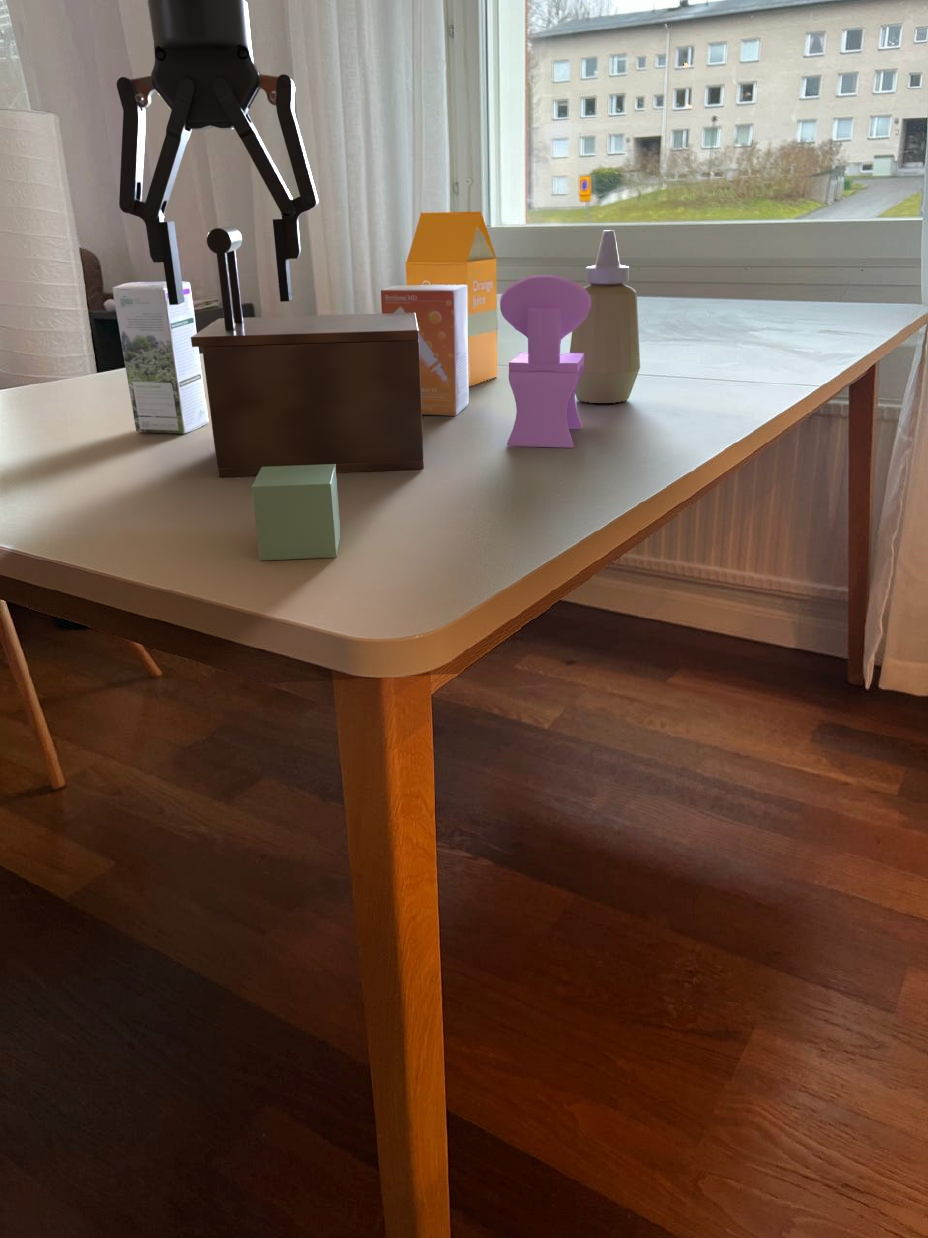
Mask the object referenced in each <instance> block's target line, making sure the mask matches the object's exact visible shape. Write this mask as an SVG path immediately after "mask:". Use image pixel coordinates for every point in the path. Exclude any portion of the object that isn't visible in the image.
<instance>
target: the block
mask: <svg viewBox="0 0 928 1238" xmlns="http://www.w3.org/2000/svg"><path fill="white" fill-rule="evenodd" d="M337 481H338V480H337V473H336V467H335V464H323V465H297V466H270V467H261V469H260V471H259V473H258V475H257V476H255V479H254V481H253V484H252V485H251V494H252V495H251V496H252V501H253V502H252V504H253V513H254V521H255V531H256V538H257V548H258V554H259V555H258V557H259V561H261V562H262V561H263V562H265V561H286V560H287V561H288V560H311V559H333V558H337V557H338V552H339V545H340V539H341V534H342V532H341V522H340V521H341V519H340V507H339V506H340V505H339V493H338V482H337Z"/></svg>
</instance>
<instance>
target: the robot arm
mask: <svg viewBox="0 0 928 1238" xmlns="http://www.w3.org/2000/svg"><path fill="white" fill-rule="evenodd" d="M248 5H249V4H248V2H247V1H246V0H147V9H148V15H149V24H150V31H151V37H152V38H151V39H152V46H153V55H154V64H153V67H152V70H151V73H150V75H147V76H142V77H141V76H140V77H136V78H128V77H127V76H126V77H125V76H121V77H119V78H118V79H117V81H116V89H117V94H118V97H119V100H120V104H121V107H122V132H121V152H120V155H121V156H120V173H119V174H120V175H119V177H120V178H119V197H118V198H119V199H118V206H119V209H120V210H121V211H122V212H123V213H125V214H128V215H132V216H134V217H137V218H140V219H141V220H142V221H143V222H144V224H145V228H146V236H147V242H148V250H149V257H150V259H151V260H152V262H153V263H163V270H164V277H165V282H166V285H167V292H168V299H169V305H179V304H181V303H183V302H185V300H184V293H183V285H182V282H183V279H182V272H181V271H182V270H181V263H180V256H179V249H178V242H177V241H178V240H177V232H176V226H175V225H176V224H175V221H165V220H164V219H165V218H166V215H165V214H166V210H167V208H168V205H169V201H170V198H171V195H172V192H173V188H174V185H175V182H176V179H177V176H178V171H179V168H180V166H181V162H182V159H183V157H184V153H185V150H186V147H187V144H188V141H189V140H190V137H191V134H192V132H193V131H206V130H210V129H213V128H216V129H220V130H225V131H229V130H231V131H232V130H233V131H234V130H235V132H236V134H237V136H238V137H239V138H240V141H241V142H242V144H243V145H244V148H245V149H246V151H247V153H248V155H249V156H250V158H251V161H252V162H253V164H254V165H255V168H256V170H257V171H258V173H259V175H260V177H261V179H262V180H263V183H264V184H265V186H266V188H267V190H268V191H269V193H270V195H271V197H272V199H273V200H274V202H275V205H276V206H277V208H278V210H279V212H280V215H281V218H273V219H272V227H273V238H274V239H273V241H274V249H275V261H276V271H277V280H278V291H279V302H280V303H283V302H285V303H286V302H287V303H288V302H290V301H291V300H293V291H292V290H293V289H292V280H291V270H290V269H291V267H290V260H296V259H300V256H301V252H302V247H301V235H300V225H299V220H300V217H301V215H302V214H304V213H306V212H309V211H311V210H313V209H315V208H317V207H318V205H319V197H318V194H317V193H318V192H317V190H316V185H315V182H314V179H313V175H312V171H311V168H310V164H309V160H308V157H307V153H306V149H305V146H304V142H303V138H302V135H301V131H300V128H299V123H298V120H297V117H296V112H295V95H296V94H295V93H296V86H295V85H296V84H295V83H294V80H293V79H292V78H291V77H290V76H289V75H288V74H286V73H284V74H283V73H282V74H280V75H278V76H276V75H270V74H262V73H260V71H259V70H258V68H257V66H256V63H255V61H254V55H253V47H252V46H253V45H252V38H251V37H252V35H251V27H250V16H249V15H250V14H249V6H248ZM260 90H262V91H264V93H265V94H266V98H267V101H268V102H269V104H270V105H272V106H274V107H276V108H275V109H276V114H277V118H278V122H279V125H280V129H281V132H282V137H283V140H284V143H285V147H286V151H287V154H288V157H289V161H290V165H291V169H292V172H293V175H294V179H295V183H296V186H297V190H298V193H299V196H297V197H295V198H293V196H292V195H291V192H290V191H289V189H288V188H287V185H286V183H285V181H284V180H283V178H282V176H281V173H280V172H279V170H278V168H277V166H276V165H275V163H274V161H273V159H272V157H271V155H270V153H269V152H268V151H269V150H267V147H266V146H265V144H264V142H263V141H262V138H261V136H260V135H259V133H258V130H257V128H256V126H255V124H254V122H253V121H252V119H251V117H250V115H249V113H248V112H249V110H250V109H251V106H252V104H253V103H254V101H255V99H256V97H257V95H258V94H259V91H260ZM154 93H157V95H159V97H160V98H161V99H162V101H163V102H164V103H165V104H166V105H167V107H168V108H169V110H170V111H171V112H170V115H169V118H168V121H167V125H166V129H165V136H164V140H163V143H162V146H161V150H160V153H159V156H158V159H157V163H156V166H155V169H154V172H153V176H152V179H151V182H150V185H149V189H148V192H147V196H146V198H145V200H143V182H144V167H145V166H144V165H145V164H144V163H145V148H146V147H145V146H146V145H145V144H146V129H147V128H146V126H147V121H146V120H147V116H146V109H148V108H149V107H150V106H151V105H152V95H153V94H154Z"/></svg>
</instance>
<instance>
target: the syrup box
mask: <svg viewBox="0 0 928 1238" xmlns="http://www.w3.org/2000/svg"><path fill="white" fill-rule="evenodd" d="M182 285H183V293H184V300H185V302H183V303H181V304H179V305H169V299H168V292H167V285H166V281H132V282H126V283H122V284H119V285H116V286H112V287H111V288H112V294H113V300H114V306H115V313H116V318H117V319H116V320H117V324H118V331H119V336H120V342H121V349H122V355H123V360H124V361H123V362H124V366H125V372H126V378H127V386H128V391H129V396H130V402H131V403H130V404H131V407H132V414H133V421H134V428H135V432H137V433H153V434H182V435H183V434H188V433H190V432H193V431H195V430H198V429H199V428H201V427H203V426H205V425H207V424H209V421H210V420H209V412H208V406H207V399H206V394H205V387H204V380H203V372H202V365H201V357H200V349H199V347H192V343H191V337H192V336H193V335H195V334H197V333H198V332H197V326H196V324H197V323H196V316H195V309H194V300H193V294H192V288H191V283H190V281H182Z"/></svg>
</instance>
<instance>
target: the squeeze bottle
mask: <svg viewBox="0 0 928 1238" xmlns="http://www.w3.org/2000/svg"><path fill="white" fill-rule="evenodd" d="M617 245H618V244H617V239H616V232H615V230H614V229H606V230H605V229H604V230H603V231H602V235H601V239H600V242H599V247H598V251H597V255H596V259H595V264H594V265H590V266H586V267H585V280H584V281H585V283H586V284H588V285H586V286H582V287H583V288H584V289H586V290H587V291H588V293H589V295H590V298H591V307H590V310H589V313H588V316H587V317H586V319H585V320H584V321H583V322H582V323H581V324H580V325H579V326H578V327H577V329H576V330H574V331H572V332H571V339H570V346H569V353H584V369H583V372H582V375H581V377H580V379H579V381H578V384H577V387H576V391H575V398H576V399H577V400H578V401H580V402H583V403H587V402H589V403H588V404H593V403H613V404H616V403H615V402H619V403H621V402H620V401H623V402H625V401H624V400H626V401H628V400H629V399H628V398H630V396H631V393H632V390H633V388H634V385H635V383H636V380H637V377H638V374H639V371H640V369H641V359H640V358H641V357H640V356H641V355H640V337H639V315H638V312H639V311H638V295H637V291H636V289H634V288H633V287H631V286H629V285H626V283H628V282H629V281H630V280H629V279H630V266H628V265H622V264H621V263H620V257H619V251H618V246H617ZM627 399H628V400H627Z"/></svg>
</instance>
